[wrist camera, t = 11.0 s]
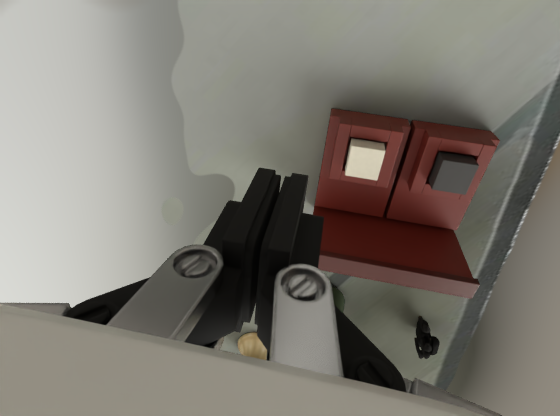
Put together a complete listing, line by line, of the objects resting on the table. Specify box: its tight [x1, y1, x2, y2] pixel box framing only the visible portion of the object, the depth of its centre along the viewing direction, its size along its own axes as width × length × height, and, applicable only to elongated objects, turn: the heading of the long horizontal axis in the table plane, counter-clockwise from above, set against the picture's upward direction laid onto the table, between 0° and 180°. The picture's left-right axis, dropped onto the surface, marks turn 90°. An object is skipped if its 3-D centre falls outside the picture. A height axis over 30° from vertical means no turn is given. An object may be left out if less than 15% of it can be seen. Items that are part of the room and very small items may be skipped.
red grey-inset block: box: [385, 120, 500, 230], centre depth 37 cm, size 11×8×4 cm
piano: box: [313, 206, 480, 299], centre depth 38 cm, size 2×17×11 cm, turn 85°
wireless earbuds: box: [414, 316, 439, 359], centre depth 49 cm, size 7×2×5 cm, turn 5°
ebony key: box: [428, 152, 479, 195], centre depth 33 cm, size 3×3×2 cm
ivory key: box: [345, 138, 386, 180], centre depth 34 cm, size 3×3×2 cm
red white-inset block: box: [315, 108, 411, 217], centre depth 37 cm, size 11×8×4 cm
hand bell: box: [238, 332, 267, 360], centre depth 55 cm, size 8×8×16 cm
